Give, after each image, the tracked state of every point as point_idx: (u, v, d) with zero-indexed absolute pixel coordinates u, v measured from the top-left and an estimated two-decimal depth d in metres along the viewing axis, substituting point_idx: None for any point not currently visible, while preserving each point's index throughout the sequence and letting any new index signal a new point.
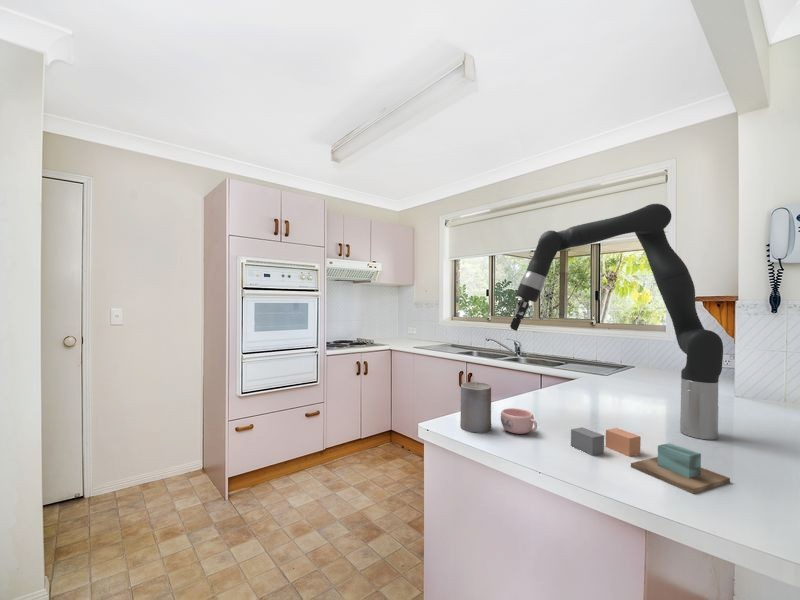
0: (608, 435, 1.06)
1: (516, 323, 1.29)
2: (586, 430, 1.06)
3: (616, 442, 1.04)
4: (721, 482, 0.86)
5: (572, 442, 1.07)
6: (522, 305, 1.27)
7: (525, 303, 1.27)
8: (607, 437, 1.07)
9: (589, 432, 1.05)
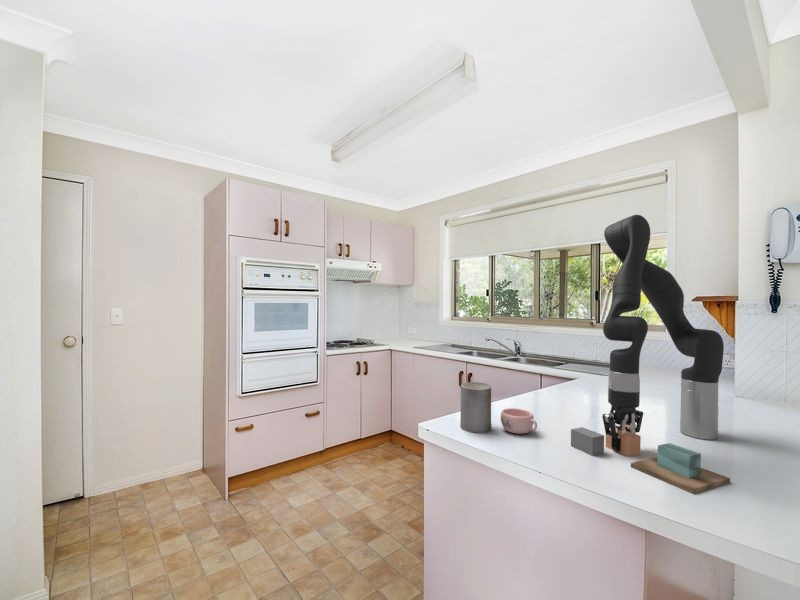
0: (608, 435, 1.06)
1: None
2: (586, 430, 1.06)
3: None
4: (721, 482, 0.86)
5: (572, 442, 1.07)
6: None
7: None
8: (607, 437, 1.07)
9: (589, 432, 1.05)
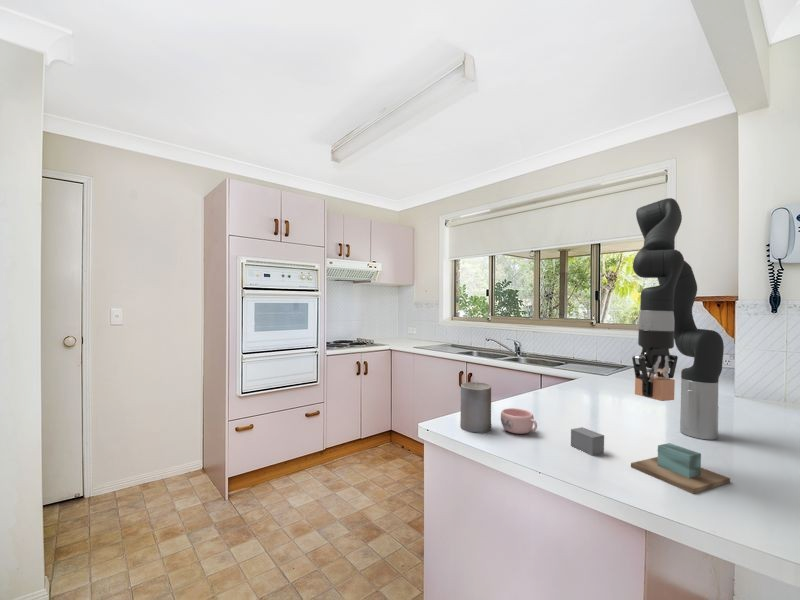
0: (638, 381, 0.98)
1: None
2: (586, 430, 1.06)
3: None
4: (721, 482, 0.86)
5: (572, 442, 1.07)
6: None
7: None
8: (637, 383, 0.98)
9: (589, 432, 1.05)
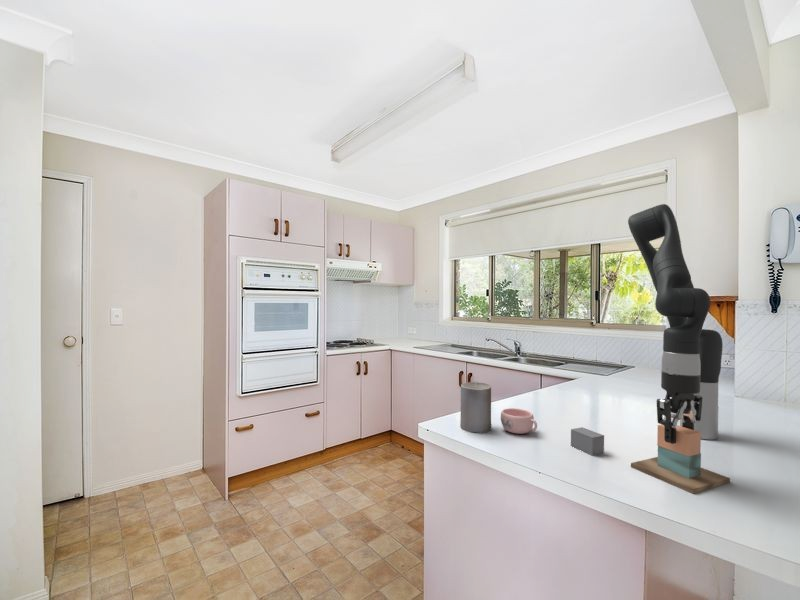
0: (661, 431, 0.92)
1: None
2: (586, 430, 1.06)
3: None
4: (721, 482, 0.86)
5: (572, 442, 1.07)
6: None
7: None
8: (659, 433, 0.92)
9: (589, 432, 1.05)
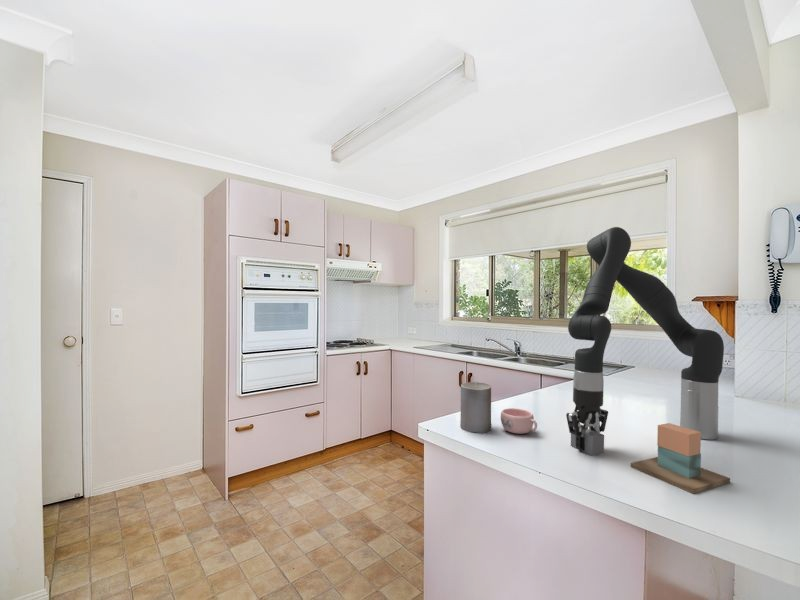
0: (661, 431, 0.92)
1: None
2: (586, 430, 1.06)
3: (671, 439, 0.90)
4: (721, 482, 0.86)
5: (572, 442, 1.07)
6: None
7: None
8: (659, 433, 0.92)
9: (589, 431, 1.05)
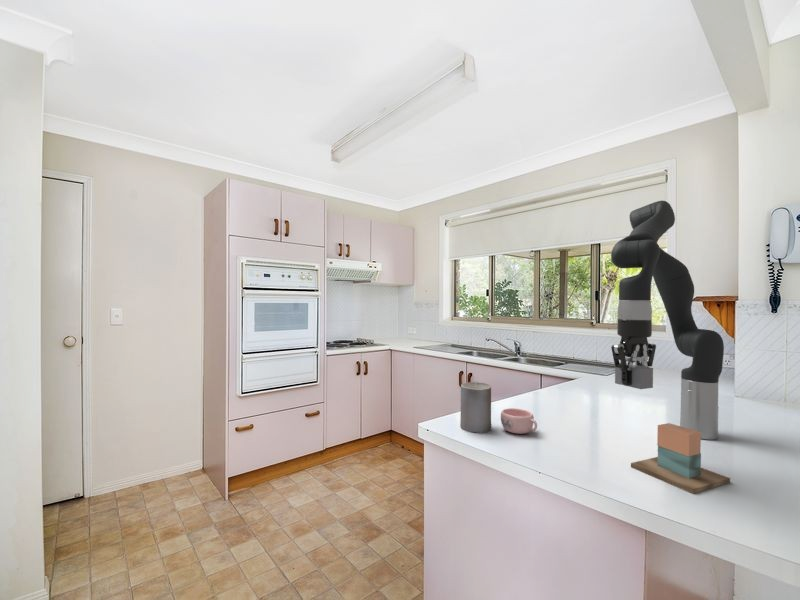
0: (661, 431, 0.92)
1: None
2: None
3: (671, 439, 0.90)
4: (721, 482, 0.86)
5: (617, 378, 0.99)
6: None
7: None
8: (659, 433, 0.92)
9: (636, 366, 0.98)
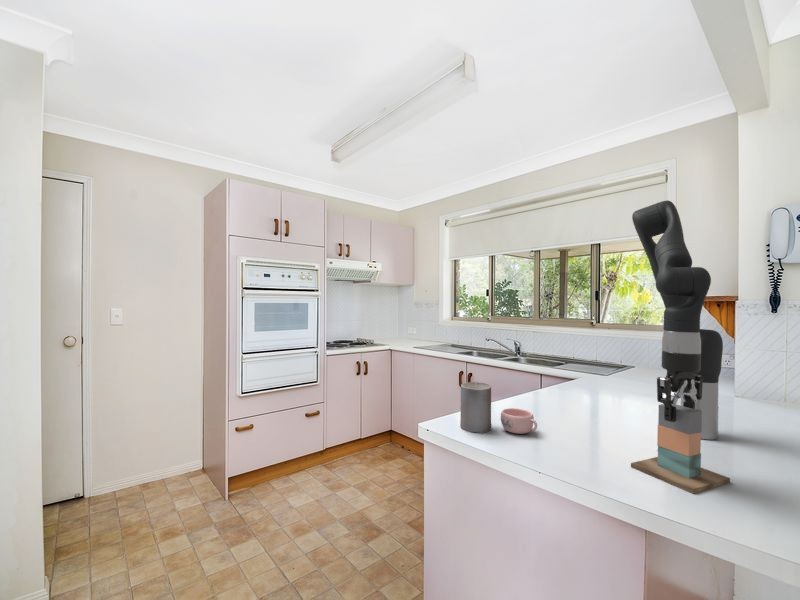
0: (661, 431, 0.92)
1: None
2: (677, 406, 0.92)
3: (671, 439, 0.90)
4: (721, 482, 0.86)
5: (660, 419, 0.92)
6: None
7: None
8: (659, 433, 0.92)
9: (682, 407, 0.91)
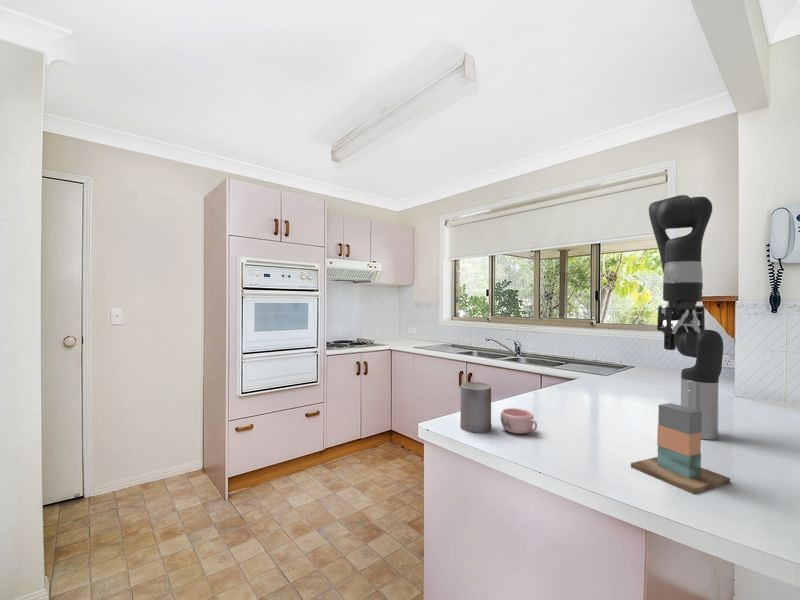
0: (661, 431, 0.92)
1: None
2: (677, 406, 0.92)
3: (671, 439, 0.90)
4: (721, 482, 0.86)
5: (660, 419, 0.92)
6: None
7: None
8: (659, 433, 0.92)
9: (682, 407, 0.91)
